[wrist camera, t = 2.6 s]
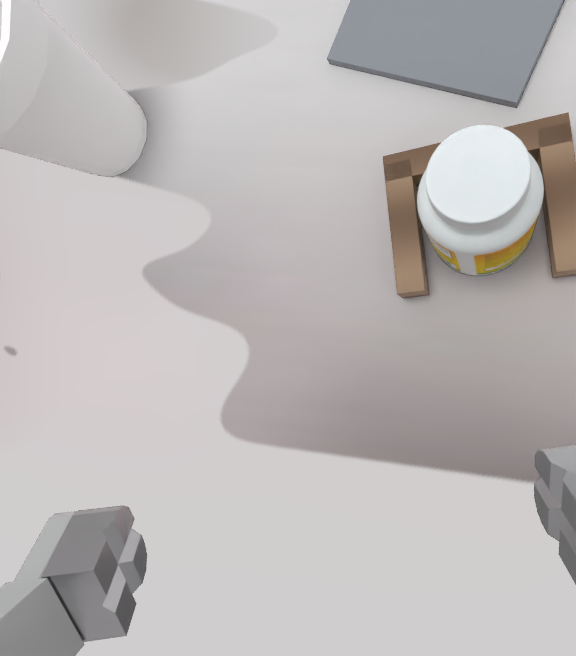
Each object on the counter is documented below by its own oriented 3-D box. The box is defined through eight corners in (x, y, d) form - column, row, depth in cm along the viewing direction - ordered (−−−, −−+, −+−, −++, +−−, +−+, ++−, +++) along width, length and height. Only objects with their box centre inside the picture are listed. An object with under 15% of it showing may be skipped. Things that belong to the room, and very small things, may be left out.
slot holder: (584, 273, 27) (590, 267, 25) (403, 298, 31) (397, 293, 29) (563, 128, 28) (568, 112, 26) (389, 168, 32) (382, 156, 30)
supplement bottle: (422, 266, 31) (391, 227, 22) (445, 177, 30) (424, 101, 21) (519, 285, 28) (530, 251, 20) (545, 190, 28) (566, 112, 19)
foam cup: (69, 88, 42) (-104, -22, 30) (165, 64, 38) (14, -71, 26) (65, 204, 41) (-113, 138, 29) (162, 190, 38) (6, 110, 26)
